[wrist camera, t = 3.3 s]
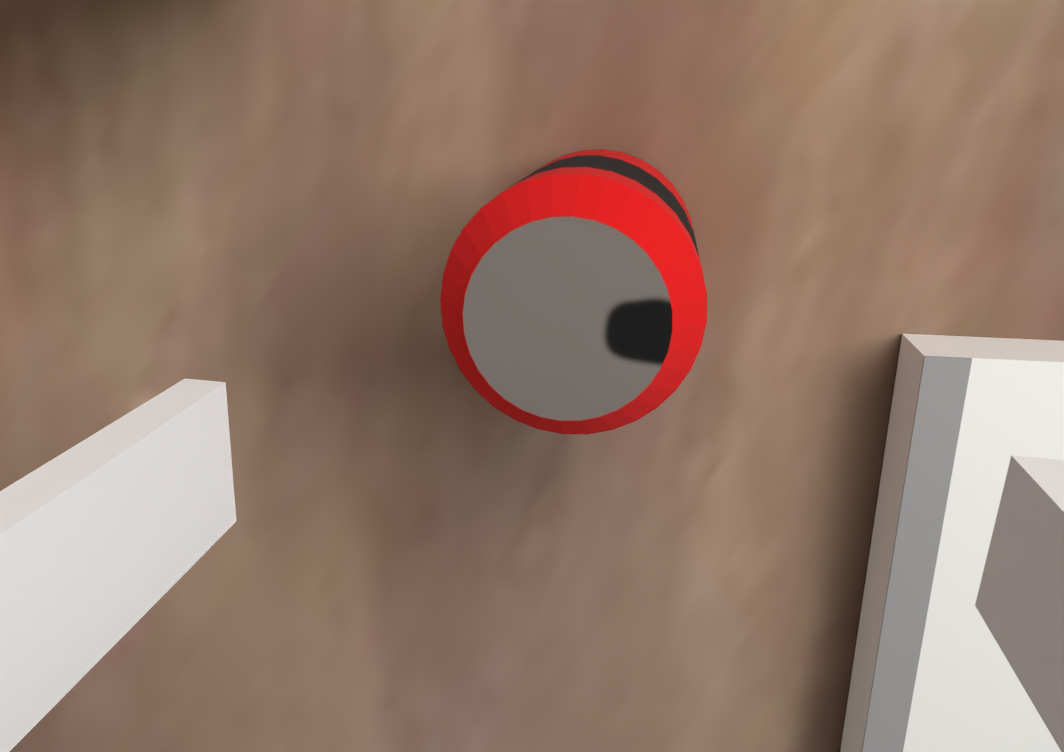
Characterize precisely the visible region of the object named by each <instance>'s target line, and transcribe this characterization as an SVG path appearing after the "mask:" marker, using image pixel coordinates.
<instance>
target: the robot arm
mask: <svg viewBox="0 0 1064 752" xmlns="http://www.w3.org/2000/svg"><path fill="white" fill-rule="evenodd" d="M235 522H236V511H235V498H234V485H233V472H232V460H231V447H230V434H229V421H228V408H227V396H226V383H225V382H216V381H205V380H194V379H183V380H182V381H180V382H178V383H177V384H175V385H174V386H172V387H170V388H169V389H167V390H165V391H164V392H162V393H160V394H159V395H157V396H156V397H154V398H152V399H151V400H149V401H147V402H146V403H144V404H142V405H141V406H139V407H138V408H136V409H134V410H133V411H131V412H129V413H128V414H126V415H124V416H123V417H121V418H120V419H118V420H116V421H115V422H113V423H111V424H110V425H108V426H106V427H105V428H103V429H102V430H100V431H98V432H97V433H95V434H93V435H92V436H90V437H88V438H87V439H85V440H84V441H82V442H80V443H79V444H77V445H75V446H74V447H72V448H70V449H69V450H67V451H66V452H64V453H62V454H61V455H59V456H57V457H56V458H54V459H52V460H51V461H49V462H48V463H46V464H44V465H43V466H41V467H39V468H38V469H36V470H34V471H33V472H31V473H30V474H28V475H26V476H25V477H23V478H21V479H20V480H18V481H16V482H15V483H13V484H12V485H10V486H8V487H7V488H5V489H3V490H2V491H0V752H10V751H11V750H12V749H13V748H14V747H15V746H16V745H17V744H18V742H19V741H20V740H21V739H22V738H23V737H24V736H25V735H26V734H27V733H28V732H29V731H30V730H31V729H32V728H33V727H34V726H35V725H36V724H37V723H38V722H39V721H40V720H41V719H42V718H43V717H44V716H45V715H46V714H47V713H48V712H49V711H50V710H51V709H52V708H53V707H54V706H55V705H56V704H57V703H58V702H59V701H60V700H61V699H62V698H63V697H64V696H65V695H66V694H67V693H68V692H69V691H70V690H71V689H72V688H73V687H74V686H75V685H76V684H77V683H78V682H79V681H80V680H81V679H82V678H83V676H84V675H85V674H86V673H87V672H88V671H89V670H90V669H91V668H92V667H93V666H94V665H95V664H96V663H97V662H98V661H99V660H100V659H101V658H102V657H103V656H104V655H105V654H106V653H107V652H108V651H109V650H110V649H111V648H112V647H113V646H114V645H115V644H116V643H117V642H118V641H119V640H120V639H121V638H122V637H123V636H124V635H125V634H126V633H127V632H128V631H129V630H130V629H131V628H132V627H133V626H134V625H135V624H136V623H137V622H138V621H139V620H140V619H141V618H142V617H143V616H144V615H145V614H146V613H147V611H148V610H149V609H150V608H151V607H152V606H153V605H154V604H155V603H156V602H157V601H158V600H159V599H160V598H161V597H162V596H163V595H164V594H165V593H166V592H167V591H168V590H169V589H170V588H171V587H172V586H173V585H174V584H175V583H176V582H177V581H178V580H179V579H180V578H181V577H182V576H183V575H184V574H185V573H186V572H187V571H188V570H189V569H190V568H191V567H192V566H193V565H194V564H195V563H196V562H197V561H198V560H199V559H200V558H201V557H202V556H203V555H204V554H205V553H206V552H207V551H208V550H209V549H210V548H211V547H212V545H213V544H214V543H215V542H216V541H217V540H218V539H219V538H220V537H221V536H222V535H223V534H224V533H225V532H226V531H227V530H228V529H229V528H230V527H231V526H232V525H233V524H234V523H235ZM975 606H976V608H977V610H978V611H979V613H980V615H981V616H982V618H983V620H984V622H985V623H986V625H987V627H988V628H989V630H990V632H991V633H992V635H993V637H994V638H995V640H996V642H997V644H998V645H999V647H1000V649H1001V650H1002V652H1003V654H1004V655H1005V657H1006V659H1007V661H1008V662H1009V664H1010V666H1011V667H1012V669H1013V671H1014V672H1015V674H1016V676H1017V678H1018V679H1019V681H1020V683H1021V684H1022V686H1023V688H1024V689H1025V691H1026V693H1027V694H1028V696H1029V698H1030V700H1031V701H1032V703H1033V705H1034V706H1035V708H1036V710H1037V711H1038V713H1039V715H1040V717H1041V718H1042V720H1043V722H1044V723H1045V725H1046V727H1047V728H1048V730H1049V732H1050V733H1051V735H1052V737H1053V739H1054V740H1055V742H1056V744H1057V745H1058V747H1059V749H1060V750H1061V752H1064V460H1057V459H1046V458H1035V457H1025V456H1014V455H1011V459H1010V463H1009V467H1008V471H1007V475H1006V480H1005V484H1004V488H1003V492H1002V496H1001V500H1000V504H999V508H998V513H997V517H996V521H995V525H994V529H993V533H992V537H991V541H990V546H989V550H988V554H987V558H986V562H985V566H984V570H983V574H982V579H981V583H980V587H979V591H978V595H977V599H976V603H975Z"/></svg>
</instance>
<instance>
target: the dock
mask: <svg viewBox="0 0 1064 752" xmlns="http://www.w3.org/2000/svg"><path fill="white" fill-rule="evenodd" d="M1011 455H1014V456H1025V457H1035V458H1046V459H1057V460H1064V341H1056V340H1034V339H1011V338H989V337H967V336H944V335H922V334H902V338H901V345H900V352H899V358H898V365H897V372H896V379H895V385H894V392H893V399H892V406H891V412H890V419H889V426H888V433H887V439H886V446H885V453H884V459H883V466H882V473H881V480H880V486H879V493H878V500H877V507H876V513H875V520H874V527H873V534H872V540H871V547H870V554H869V560H868V567H867V574H866V581H865V587H864V594H863V601H862V608H861V614H860V621H859V628H858V635H857V641H856V648H855V655H854V662H853V668H852V675H851V682H850V688H849V695H848V702H847V709H846V715H845V722H844V729H843V736H842V742H841V749H840V752H1061V750H1060V749H1059V747H1058V745H1057V744H1056V742H1055V740H1054V739H1053V737H1052V735H1051V733H1050V732H1049V730H1048V728H1047V727H1046V725H1045V723H1044V722H1043V720H1042V718H1041V717H1040V715H1039V713H1038V711H1037V710H1036V708H1035V706H1034V705H1033V703H1032V701H1031V700H1030V698H1029V696H1028V694H1027V693H1026V691H1025V689H1024V688H1023V686H1022V684H1021V683H1020V681H1019V679H1018V678H1017V676H1016V674H1015V672H1014V671H1013V669H1012V667H1011V666H1010V664H1009V662H1008V661H1007V659H1006V657H1005V655H1004V654H1003V652H1002V650H1001V649H1000V647H999V645H998V644H997V642H996V640H995V638H994V637H993V635H992V633H991V632H990V630H989V628H988V627H987V625H986V623H985V622H984V620H983V618H982V616H981V615H980V613H979V611H978V610H977V608H976V606H975V603H976V599H977V595H978V591H979V587H980V583H981V579H982V574H983V570H984V566H985V562H986V558H987V554H988V550H989V546H990V541H991V537H992V533H993V529H994V525H995V521H996V517H997V513H998V508H999V504H1000V500H1001V496H1002V492H1003V488H1004V484H1005V480H1006V475H1007V471H1008V467H1009V463H1010V459H1011Z"/></svg>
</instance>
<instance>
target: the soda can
mask: <svg viewBox="0 0 1064 752" xmlns="http://www.w3.org/2000/svg"><path fill="white" fill-rule="evenodd" d="M440 300H441V312H442V324H443V328H444V331H445V335H446V338H447V342H448V345H449V349H450V351H451V353H452V355H453V357H454V359H455V361H456V363H457V365H458V367H459V369H460V371H461V372H462V373H463V374H464V376H465V377H466V378H467V380H468V381H469V382H470V384H471V385H472V386H473V388H474V389H475V390H476V391H477V392H478V393H479V394H480V395H481V396H482V397H484V398H485V399H486V400H487V401H488V402H489V403H490V404H491V405H492V406H493V407H495V408H496V409H498V410H500V411H501V412H503V413H505V414H506V415H508V416H509V417H511V418H513V419H514V420H516V421H519V422H521V423H524V424H527V425H529V426H532V427H534V428H537V429H540V430H545V431H551V432H556V433H561V434H591V433H597V432H602V431H608V430H613V429H616V428H618V427H621V426H624V425H626V424H629V423H631V422H634V421H636V420H638V419H640V418H641V417H643V416H644V415H646V414H648V413H649V412H651V411H653V410H654V409H656V408H657V407H658V406H659V405H661V404H662V403H663V402H664V401H665V400H666V399H667V398H668V397H669V396H670V395H671V394H672V393H673V392H675V391H676V389H677V388H678V386H679V385H680V384H681V382H682V381H683V380H684V378H685V377H686V375H687V374H688V373H689V371H690V370H691V368H692V365H693V363H694V361H695V359H696V356H697V354H698V352H699V350H700V348H701V344H702V340H703V335H704V331H705V326H706V322H707V293H706V288H705V283H704V278H703V272H702V267H701V263H700V258H699V254H698V249H697V245H696V240H695V236H694V232H693V227H692V223H691V218H690V215H689V213H688V211H687V208H686V206H685V203H684V201H683V199H682V198H681V196H680V195H679V193H678V192H677V190H676V189H675V187H674V186H673V184H672V183H671V182H670V181H669V180H668V179H667V178H666V177H665V176H664V175H663V174H662V173H661V172H659V171H658V170H657V169H656V168H654V167H652V166H651V165H649V164H648V163H646V162H645V161H643V160H641V159H639V158H636V157H633V156H631V155H628V154H626V153H623V152H617V151H610V150H604V149H603V150H583V151H579V152H575V153H571V154H567V155H564V156H562V157H560V158H558V159H556V160H554V161H552V162H550V163H548V164H546V165H545V166H543V167H541V168H540V169H538V170H537V171H535V172H533V173H532V174H530V175H529V176H527V177H526V178H524V179H522V180H521V181H519V182H518V183H516V184H515V185H513V186H511V187H510V188H508V189H507V190H505V191H503V192H502V193H501V194H499V195H498V196H497V197H495V198H494V199H493V200H491V201H490V202H489V203H487V204H486V205H485V206H483V207H482V208H481V209H480V210H479V211H478V212H477V213H476V215H475V216H474V217H473V218H472V219H471V220H470V221H469V223H468V224H467V225H466V226H465V227H464V228H463V230H462V232H461V234H460V236H459V237H458V239H457V241H456V243H455V244H454V246H453V248H452V250H451V252H450V255H449V258H448V262H447V265H446V268H445V271H444V274H443V282H442V290H441V299H440Z"/></svg>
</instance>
